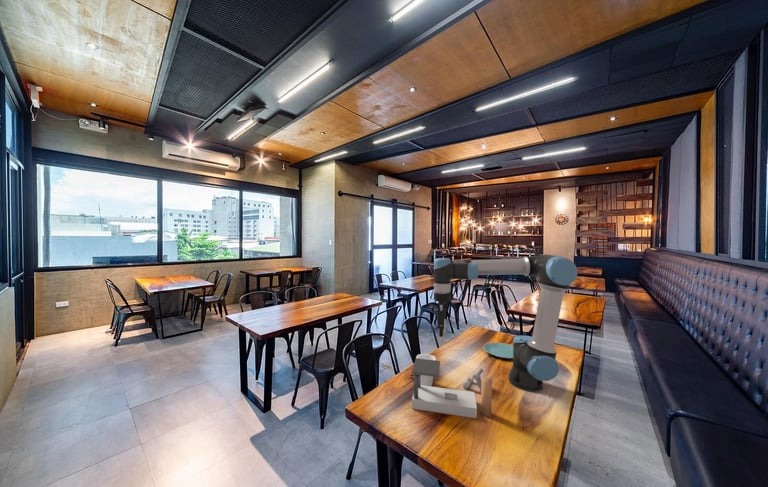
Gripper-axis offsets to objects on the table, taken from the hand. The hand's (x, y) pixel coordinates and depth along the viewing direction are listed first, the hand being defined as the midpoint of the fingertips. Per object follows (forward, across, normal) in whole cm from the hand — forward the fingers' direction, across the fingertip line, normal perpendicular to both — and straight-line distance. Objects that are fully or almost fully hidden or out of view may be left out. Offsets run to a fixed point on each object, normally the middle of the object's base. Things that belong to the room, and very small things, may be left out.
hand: (442, 337), depth 129 cm
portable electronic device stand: (+26, -9, +15) cm, 31 cm away
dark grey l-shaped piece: (+22, +10, -6) cm, 24 cm away
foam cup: (+26, -5, -8) cm, 27 cm away
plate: (+27, -54, +34) cm, 69 cm away
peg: (+26, +11, +18) cm, 34 cm away
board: (+26, +10, +1) cm, 27 cm away
